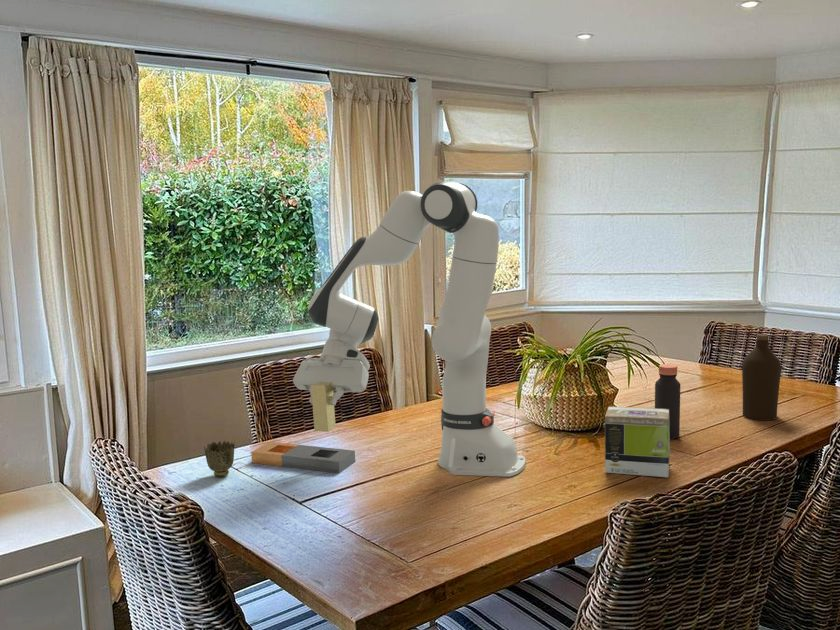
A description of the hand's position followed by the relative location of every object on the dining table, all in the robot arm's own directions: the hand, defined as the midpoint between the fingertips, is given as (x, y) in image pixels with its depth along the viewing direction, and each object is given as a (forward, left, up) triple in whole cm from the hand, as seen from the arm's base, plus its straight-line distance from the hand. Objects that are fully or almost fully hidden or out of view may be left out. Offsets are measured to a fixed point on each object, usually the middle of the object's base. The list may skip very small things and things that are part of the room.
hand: (322, 403), depth 194 cm
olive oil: (-106, -78, -17) cm, 133 cm away
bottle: (-81, -51, -17) cm, 97 cm away
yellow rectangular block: (0, -1, -7) cm, 7 cm away
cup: (+22, +14, -17) cm, 31 cm away
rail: (+7, -1, -17) cm, 18 cm away
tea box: (-76, -21, -17) cm, 81 cm away
